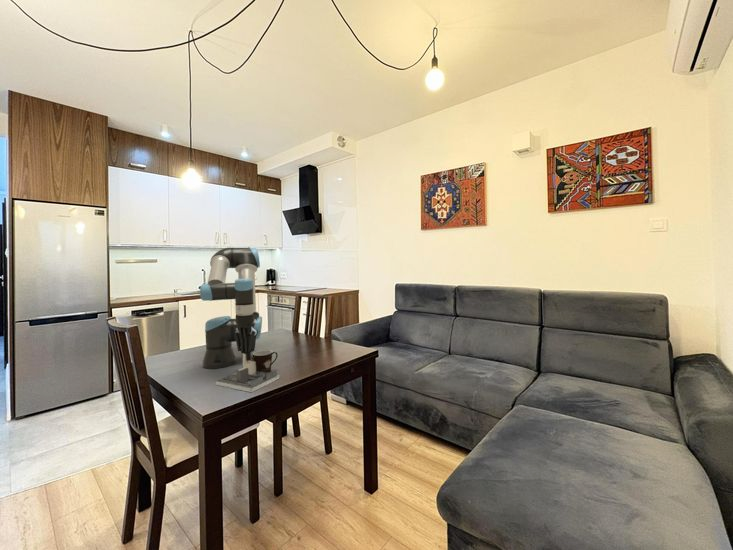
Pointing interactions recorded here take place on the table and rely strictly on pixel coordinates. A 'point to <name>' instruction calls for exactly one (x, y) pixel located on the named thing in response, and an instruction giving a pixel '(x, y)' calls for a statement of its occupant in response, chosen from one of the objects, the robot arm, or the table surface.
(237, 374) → the block
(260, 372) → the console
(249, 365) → the fader
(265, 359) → the coffee mug
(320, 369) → the table surface
